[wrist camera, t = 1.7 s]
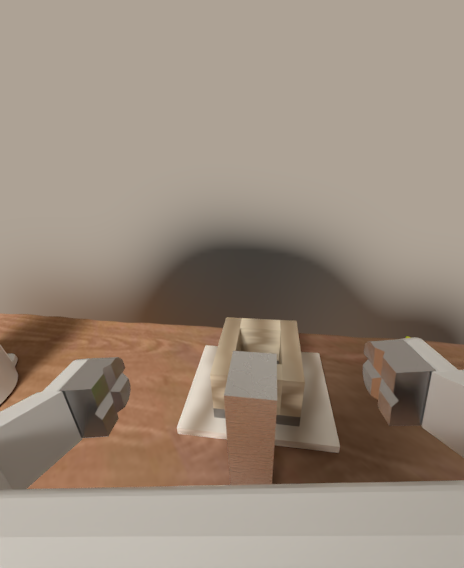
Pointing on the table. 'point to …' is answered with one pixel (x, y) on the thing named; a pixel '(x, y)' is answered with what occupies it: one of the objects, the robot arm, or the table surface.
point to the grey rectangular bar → (251, 417)
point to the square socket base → (290, 386)
